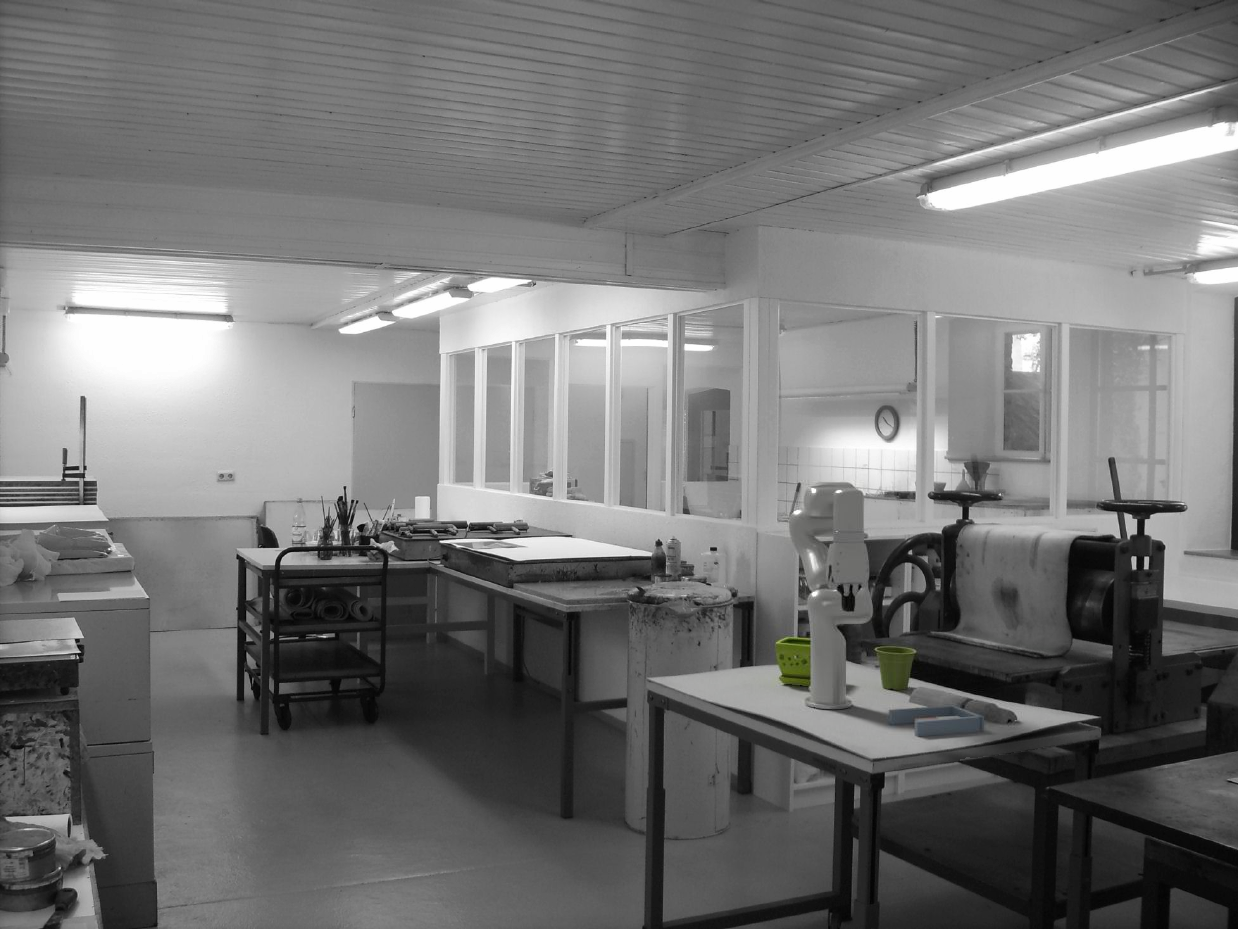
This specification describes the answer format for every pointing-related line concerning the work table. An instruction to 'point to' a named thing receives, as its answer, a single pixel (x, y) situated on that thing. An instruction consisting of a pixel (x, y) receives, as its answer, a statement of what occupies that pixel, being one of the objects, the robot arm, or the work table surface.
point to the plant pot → (895, 666)
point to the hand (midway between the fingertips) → (848, 610)
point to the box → (938, 720)
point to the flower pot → (794, 660)
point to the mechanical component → (961, 704)
